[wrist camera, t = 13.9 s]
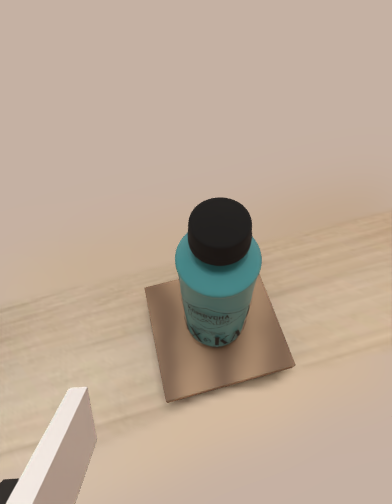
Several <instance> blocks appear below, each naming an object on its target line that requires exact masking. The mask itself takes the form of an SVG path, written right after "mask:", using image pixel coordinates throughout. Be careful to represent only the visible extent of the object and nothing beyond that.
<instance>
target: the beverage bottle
mask: <svg viewBox="0 0 392 504" xmlns="http://www.w3.org/2000/svg"><path fill="white" fill-rule="evenodd" d="M261 263H262V257H261V252H260V248H259V246H258V244H257V242H256V241H255V239H254V238H253V237H252V220H251V217H250V215H249V212H248V211H247V209H246V208H245V207H244V206H243V205H242V204H240V203H239V202H237V201H235V200H232V199H228V198H212V199H208V200H206V201H203V202H202V203H200V204H199V205H197V206H196V207H195V208H194V210H193V211H192V213H191V215H190V217H189V222H188V233H187V234H186V235H185V236H184V237H183V238H182V240H181V241H180V243H179V245H178V247H177V250H176V254H175V264H176V269H177V272H178V276H179V281H180V282H179V283H180V289H181V292H180V293H181V295H182V298H181V299H182V300H183V302H182V303H183V307H184V312H185V316H186V319H185V321H187V322H186V323H185V324H186V325H187V326H186V327H187V328H188V330H189V333H191V334H192V335H193V338H194V339H196V340H198V343H199V342H201V343H202V344H204V346H205V345H207V347H208V346H212V348H215V347H218V348H219V347H220V346H224V345H227V344H229V343H231V342H232V341H234V340H237V339H238V338H239V337H238V336H239V335H240V332H241V330H242V328H243V329H244V327H243V324H244V326H245V323H246V320H247V319H246V320H245V318H247V314H249V312H248V311H250V310H249V308H251V307H250V302H251V299H252V293H253V290H254V287H255V283H256V280H257V277H258V275H259V272H260V269H261ZM178 289H179V288H178ZM181 295H180V296H181ZM182 300H181V301H182ZM182 303H181V304H182ZM251 305H252V304H251ZM185 316H184V318H185ZM244 321H245V323H244ZM236 338H237V339H236Z"/></svg>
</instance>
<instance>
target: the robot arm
mask: <svg viewBox="0 0 392 504" xmlns="http://www.w3.org/2000/svg"><path fill="white" fill-rule="evenodd" d="M96 442H97V436H96V431H95V426H94V420H93V415H92V410H91V404H90V399H89V394H88V388H87V387H76V388H69V389H68V391H67V393H66V395H65V396H64V398H63V400H62V402H61V404H60V406H59V407H58V409H57V411H56V413H55V415H54V417H53V418H52V420H51V422H50V424H49V426H48V428H47V429H46V431H45V433H44V435H43V437H42V438H41V440H40V442H39V444H38V446H37V448H36V449H35V451H34V453H33V455H32V457H31V459H30V460H29V462H28V464H27V466H26V468H25V470H24V471H23V473H22V475H21V477H20V478H19V479H5V480H3V481H2V482H1V483H0V504H75V503H76V500H77V497H78V494H79V491H80V488H81V485H82V483H83V479H84V477H85V474H86V471H87V468H88V465H89V462H90V459H91V456H92V453H93V450H94V447H95V444H96Z"/></svg>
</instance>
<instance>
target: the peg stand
mask: <svg viewBox="0 0 392 504" xmlns="http://www.w3.org/2000/svg"><path fill="white" fill-rule="evenodd" d="M179 282H180V281H179V279H178V280H174V281H170V282H166V283H162V284H158V285H154V286H150V287H146V288H145V293H146V298H147V304H148V309H149V314H150V319H151V325H152V330H153V335H154V341H155V346H156V351H157V356H158V362H159V367H160V372H161V378H162V383H163V388H164V393H165V399H166V402H167V403H169V402H173V401H176V400H180V399H183V398H187V397H190V396H194V395H197V394H201V393H205V392H208V391H212V390H215V389H219V388H222V387H226V386H229V385H233V384H236V383H240V382H243V381H247V380H250V379H254V378H257V377H261V376H265V375H268V374H272V373H275V372H279V371H282V370H286V369H289V368H292V367H294V366H295V362H294V360H293V357H292V355H291V352H290V350H289V347H288V345H287V342H286V340H285V337H284V335H283V332H282V330H281V327H280V325H279V322H278V320H277V317H276V315H275V312H274V310H273V307H272V304H271V302H270V299H269V297H268V294H267V292H266V289H265V287H264V284H263V282H262V279H261V277H260V274H259V275H258V277H257V280H256V283H255V287H254V290H253V293H252V299H251V302H250V307H251V308H249V310H250V311H248V312H249V314H247V318H245V320H246V319H247V320H246V323H245V321H244V323H245V326H244V324H243V327H244V329H243V328H242V330H241V332H240V335H239V336H238V337H239V338H238V339H237V338H236V339H237V340H234V341H232V342H231V343H229V344H227V345H224V346H220V347H219V348H218V347H215V348H212V346H208V347H207V345H205V346H204V344H202V343H201V342H199V343H198V340H196V339H194V338H193V335H192V334H191V333H189V330H188V328H187V327H186V326H187V325H186V324H185V323H186V322H187V321H185V319H186V316H185V312H184V307H183V303H182V302H183V300H182V299H181V298H182V295H181V293H180V292H181V289H180V283H179ZM178 288H179V289H178ZM180 295H181V296H180ZM181 300H182V301H181ZM181 303H182V304H181ZM251 304H252V305H251ZM184 316H185V318H184Z"/></svg>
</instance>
